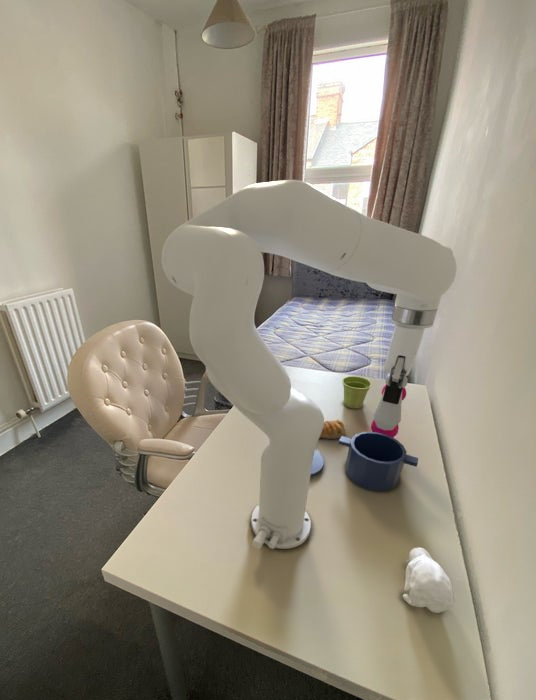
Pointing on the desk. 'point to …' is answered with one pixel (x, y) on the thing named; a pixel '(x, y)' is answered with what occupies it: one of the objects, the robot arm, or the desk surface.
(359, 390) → the plant pot
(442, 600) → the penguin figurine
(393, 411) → the salt shaker
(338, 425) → the pastry
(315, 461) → the lid
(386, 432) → the pepper mill
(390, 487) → the pot
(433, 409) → the desk surface
